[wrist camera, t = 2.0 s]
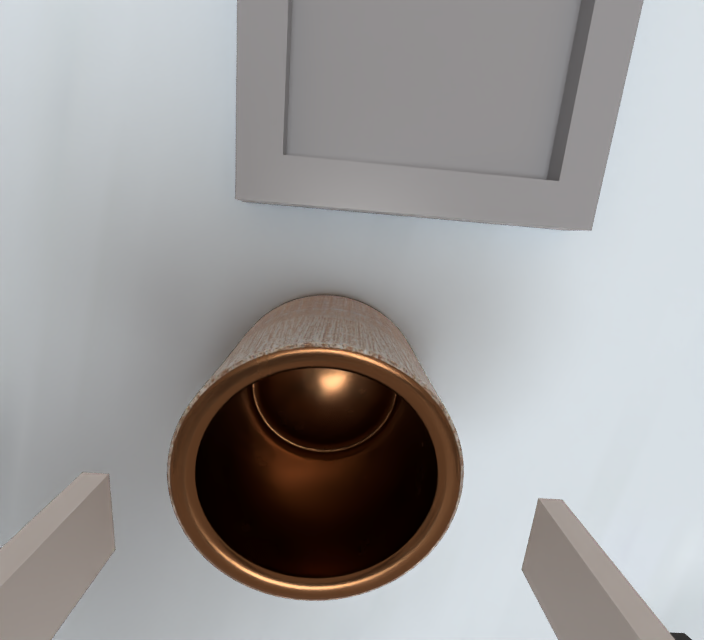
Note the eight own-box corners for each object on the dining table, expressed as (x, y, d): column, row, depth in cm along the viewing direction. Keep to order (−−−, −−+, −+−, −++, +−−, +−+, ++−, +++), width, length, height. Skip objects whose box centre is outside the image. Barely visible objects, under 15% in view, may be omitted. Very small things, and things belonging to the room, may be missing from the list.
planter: (274, 262, 21) (222, 287, 11) (445, 335, 22) (522, 410, 13) (211, 424, 23) (124, 555, 14) (370, 481, 24) (390, 636, 15)
